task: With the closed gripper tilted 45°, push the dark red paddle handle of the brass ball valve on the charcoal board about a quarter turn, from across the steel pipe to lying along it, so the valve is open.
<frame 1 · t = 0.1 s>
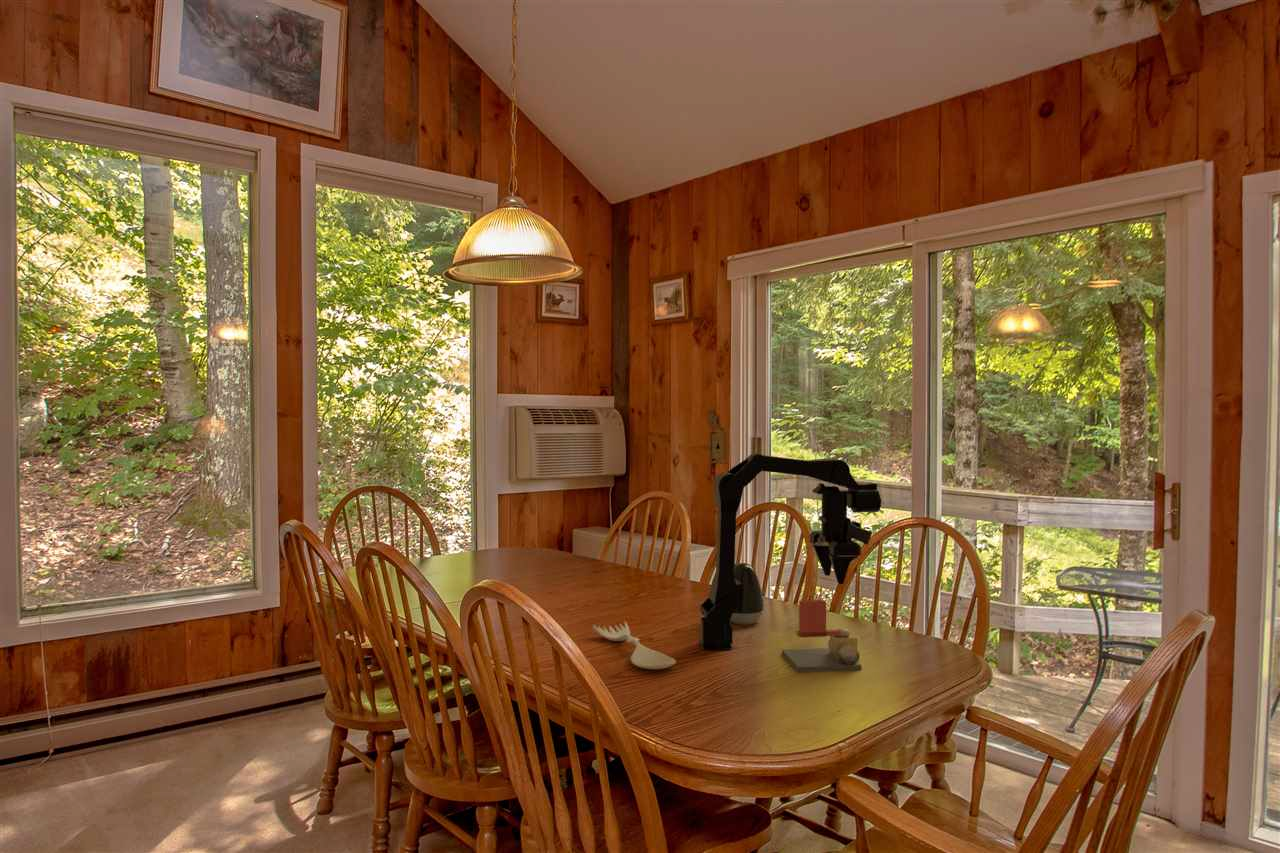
hand: (834, 579, 181), 15 cm above the table, tool pointing down, fingers open, 9 cm apart
ball valve: (843, 663, 167), resting on mounting board
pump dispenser: (743, 623, 199), on the table
valve lever: (823, 618, 166), point 10 cm above the table, hinge at 0.0°
white double-ended utensil part: (633, 654, 174), on the table
mounting board: (820, 661, 168), on the table
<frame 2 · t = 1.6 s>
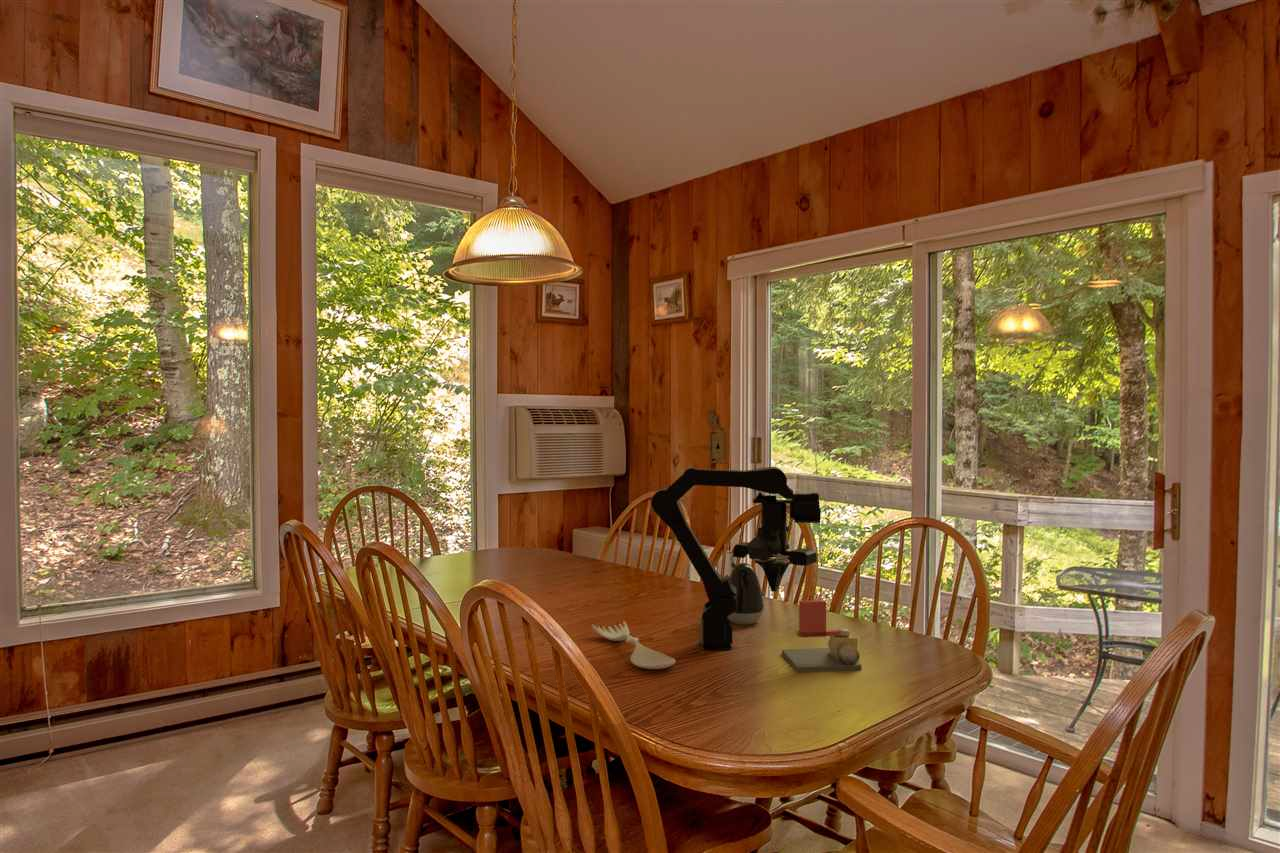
hand: (774, 591, 177), 13 cm above the table, tool pointing down, fingers closed
nothing on the table moved.
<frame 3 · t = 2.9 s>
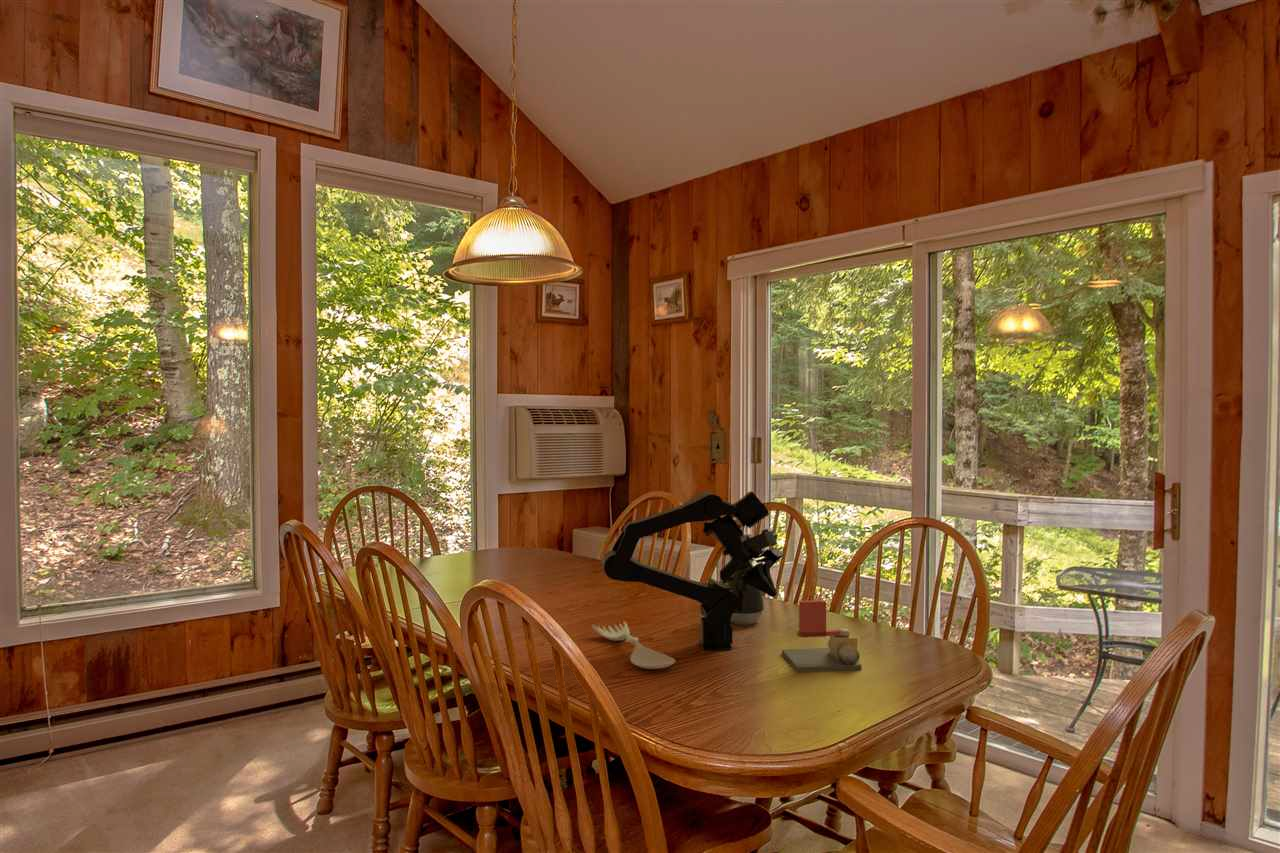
hand: (774, 595, 171), 13 cm above the table, tool tilted 45°, fingers closed
nothing on the table moved.
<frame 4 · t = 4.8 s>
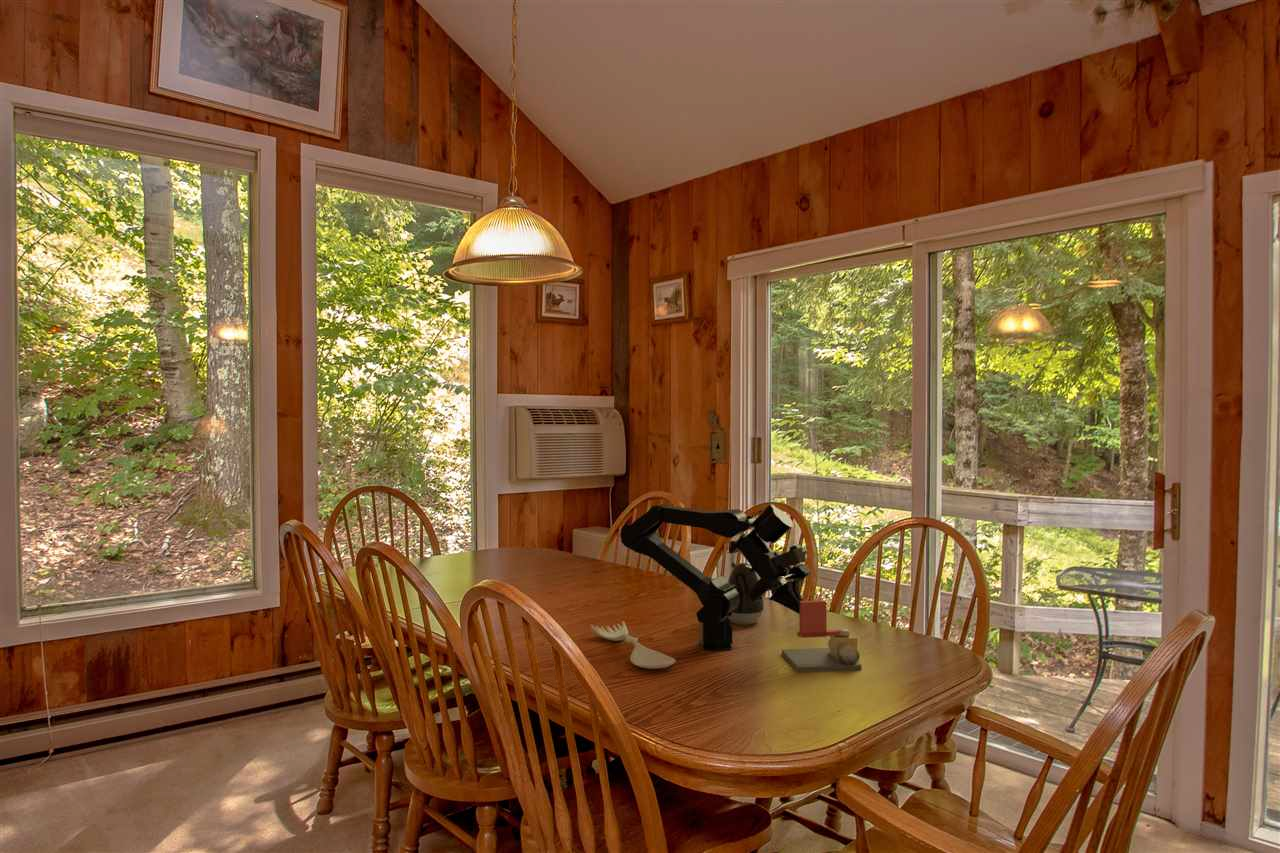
hand: (805, 614, 166), 11 cm above the table, tool tilted 45°, fingers closed
valve lever: (823, 618, 166), point 10 cm above the table, hinge at 1.4°, touching gripper
everything else where it was.
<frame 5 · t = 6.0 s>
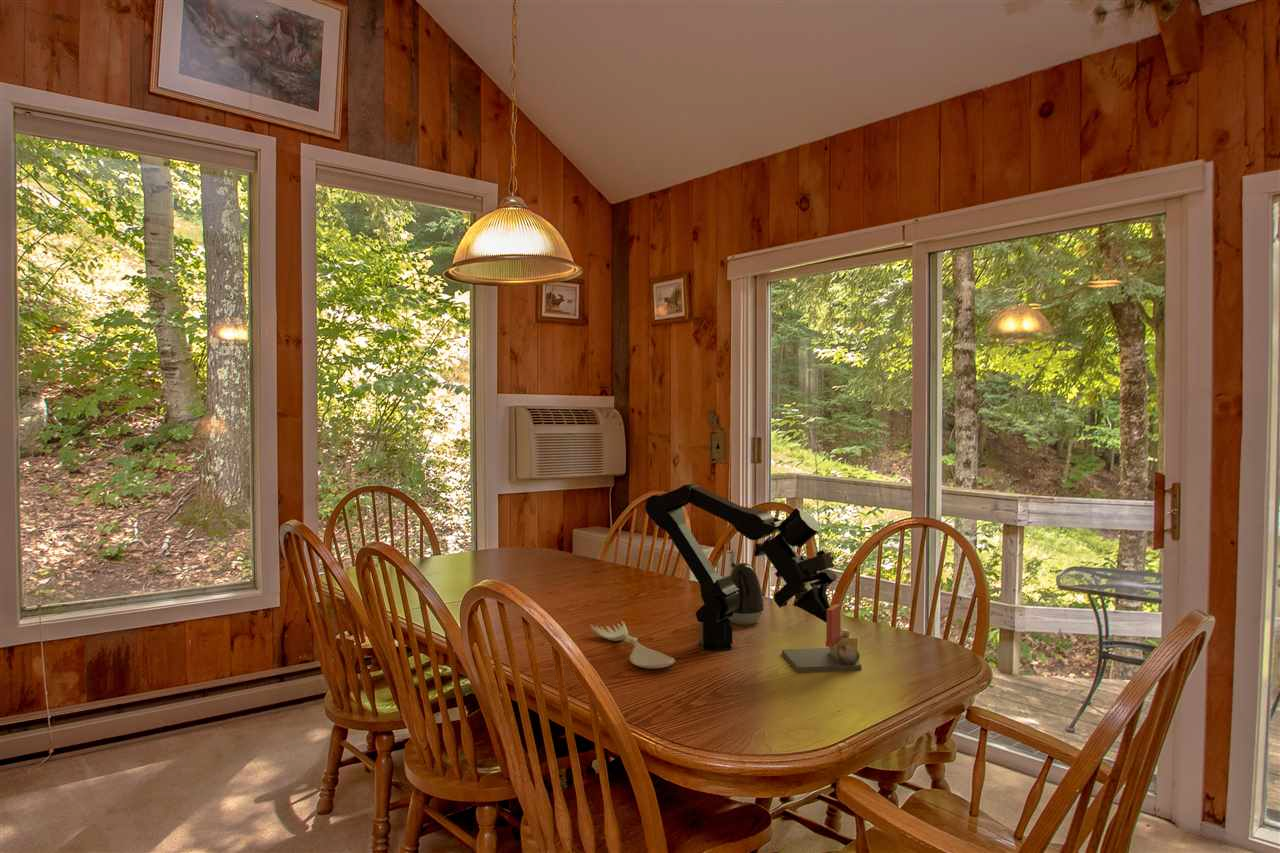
hand: (831, 621, 162), 10 cm above the table, tool tilted 45°, fingers closed
valve lever: (837, 622, 163), point 10 cm above the table, hinge at 52.9°, touching gripper
everything else where it was.
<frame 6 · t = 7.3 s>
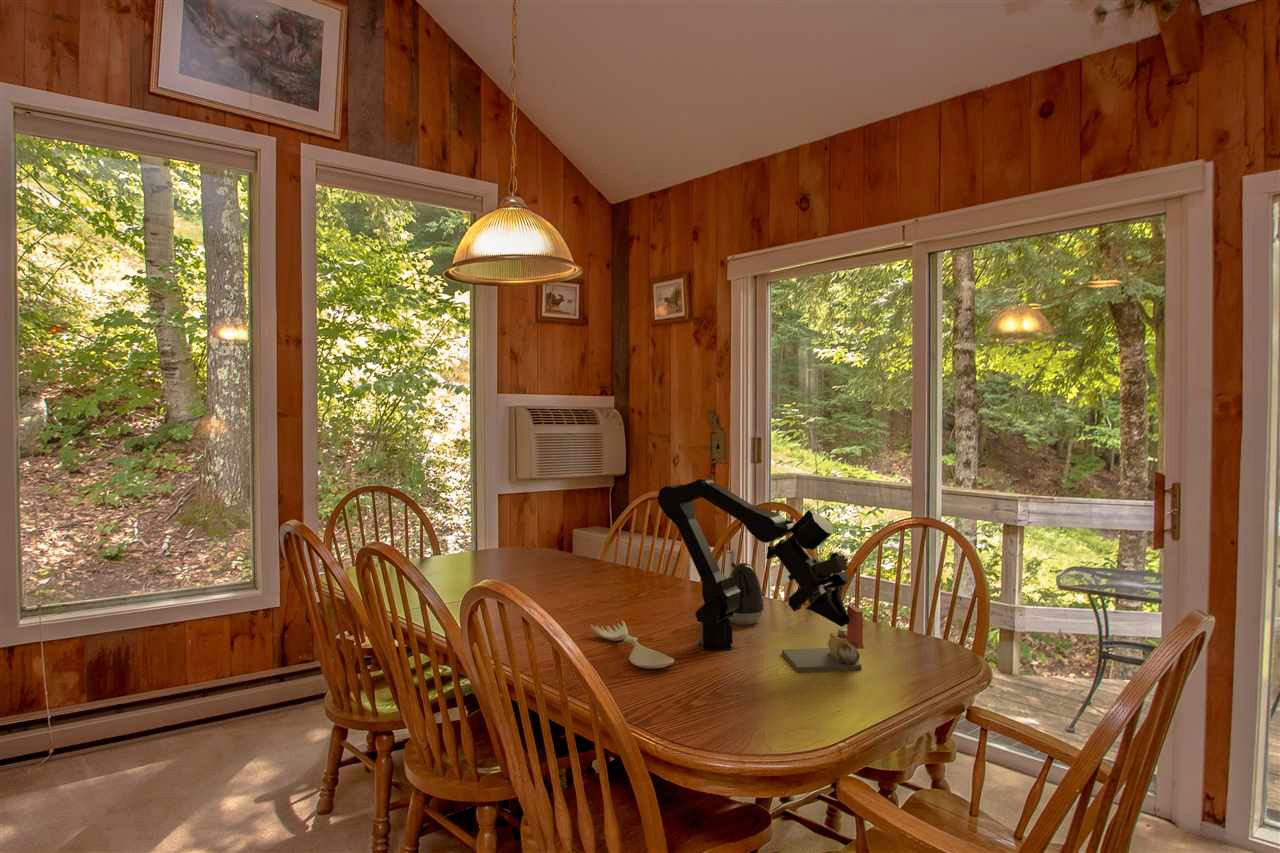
hand: (845, 624, 160), 10 cm above the table, tool tilted 45°, fingers closed
valve lever: (850, 623, 162), point 10 cm above the table, hinge at 89.3°, touching gripper
everything else where it was.
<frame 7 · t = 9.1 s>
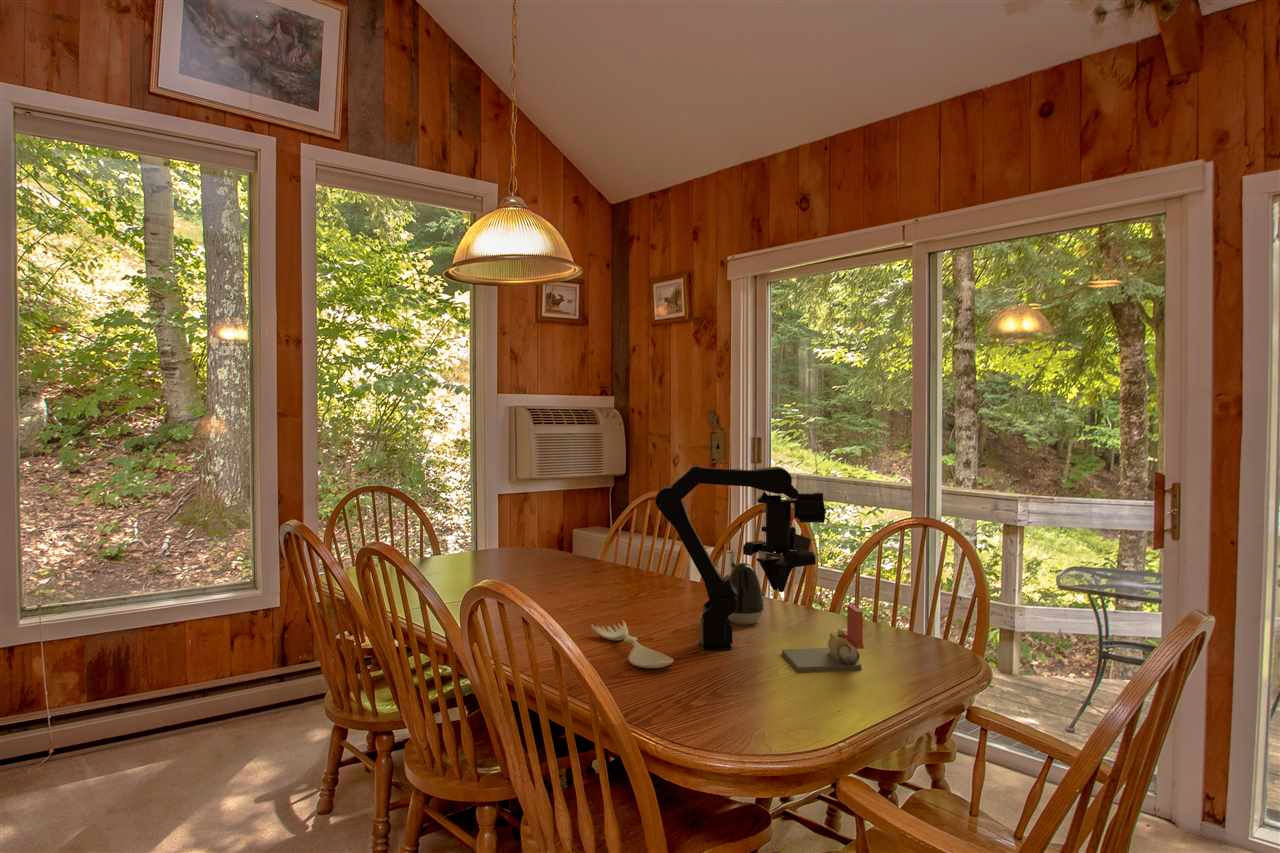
hand: (778, 590, 177), 13 cm above the table, tool pointing down, fingers closed
valve lever: (850, 623, 162), point 10 cm above the table, hinge at 89.3°
everything else where it was.
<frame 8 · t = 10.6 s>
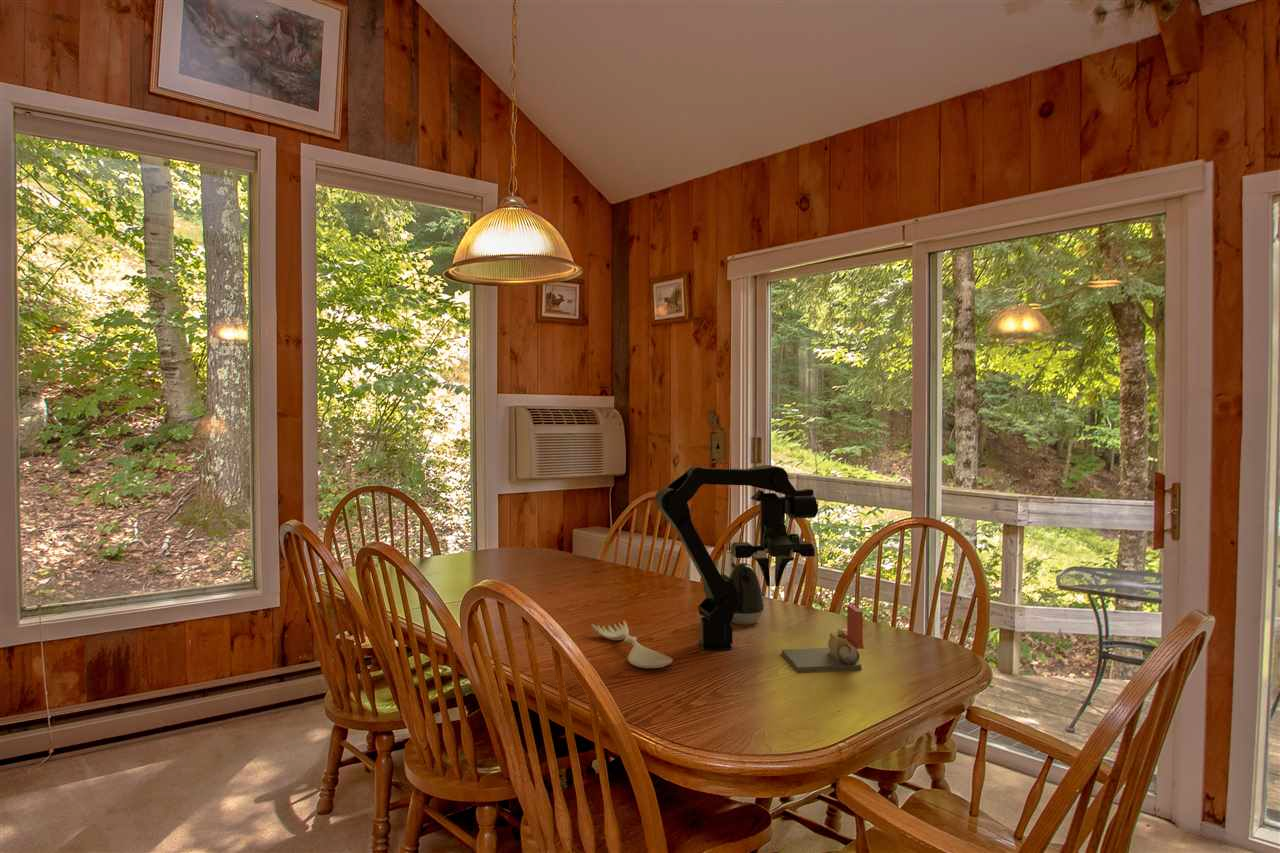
hand: (772, 586, 182), 13 cm above the table, tool pointing down, fingers closed
nothing on the table moved.
at the end: valve lever at +89° (first picture: +0°); the gripper is holding nothing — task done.
